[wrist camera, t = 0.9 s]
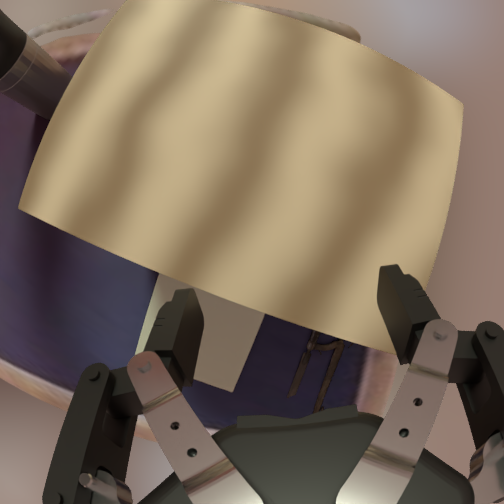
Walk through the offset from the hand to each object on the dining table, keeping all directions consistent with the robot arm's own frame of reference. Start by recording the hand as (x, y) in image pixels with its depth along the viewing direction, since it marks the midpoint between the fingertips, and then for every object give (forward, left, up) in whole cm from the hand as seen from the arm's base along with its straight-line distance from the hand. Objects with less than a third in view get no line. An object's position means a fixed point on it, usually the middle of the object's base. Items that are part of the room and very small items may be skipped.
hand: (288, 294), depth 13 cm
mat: (-4, -14, -29) cm, 33 cm away
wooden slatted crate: (-4, +7, -29) cm, 31 cm away
